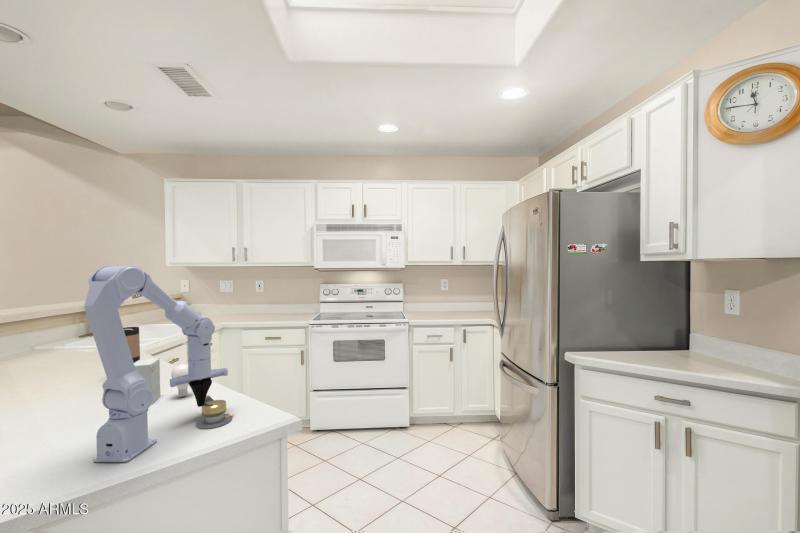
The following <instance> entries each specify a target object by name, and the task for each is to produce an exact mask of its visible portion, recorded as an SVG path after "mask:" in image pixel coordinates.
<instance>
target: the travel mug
mask: <svg viewBox="0 0 800 533" xmlns="http://www.w3.org/2000/svg"><path fill="white" fill-rule="evenodd" d="M123 329H124V332H125V336H126V339H127V342H128V346H129V349H130V352H131V355H132V359H133V362H134V363H135V362H136V361H138V360H141V350H140V349H141V348H140V347H141V345H140V327H139V326H127V327H123Z"/></svg>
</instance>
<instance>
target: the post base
mask: <svg viewBox="0 0 800 533" xmlns="http://www.w3.org/2000/svg"><path fill="white" fill-rule="evenodd" d="M233 416H235V414H234V413H233V414H229V413H223V414H221V415H218V416H214V417H202V418H200V419H199V420H198V421H197V422H195V427H196V428H197V429H199V430H212V429H216V428H220V427H223V426H226V425H227V424H230V423H231V422H232V420H233Z"/></svg>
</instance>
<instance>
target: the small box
mask: <svg viewBox="0 0 800 533" xmlns="http://www.w3.org/2000/svg"><path fill="white" fill-rule="evenodd" d="M160 361H161V360H160V358H147V359H140V360H138V361H136V362H135V363H134V365H135V369H136V371H137V372H138V373H139V374H140V375H141V376H142V377H143V378H144V379H145V381H146V384H147V385H148V386H149V387H150V388H151V389H152V390H153V392H154V399H153V402H152V404H151V406H152V405H153V404H154V403H155V402H156V401H157V399H159V398H160V397H161V368H160V367H161V366H160Z"/></svg>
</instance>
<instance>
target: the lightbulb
mask: <svg viewBox="0 0 800 533" xmlns="http://www.w3.org/2000/svg"><path fill="white" fill-rule="evenodd" d="M187 374H188V363H182V364H178V365H175V367H174V368H173V369H172V370H171V374H170V375H171V376H170V377H171V379H172V378H176V377H180V376H183V375H187ZM188 387H189V384H188V383H186V384H182V385H177V386H176V388H177V392H178V394H177V395H178V397H180V398H184V397H186V396H188V394H189V393H188Z"/></svg>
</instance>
